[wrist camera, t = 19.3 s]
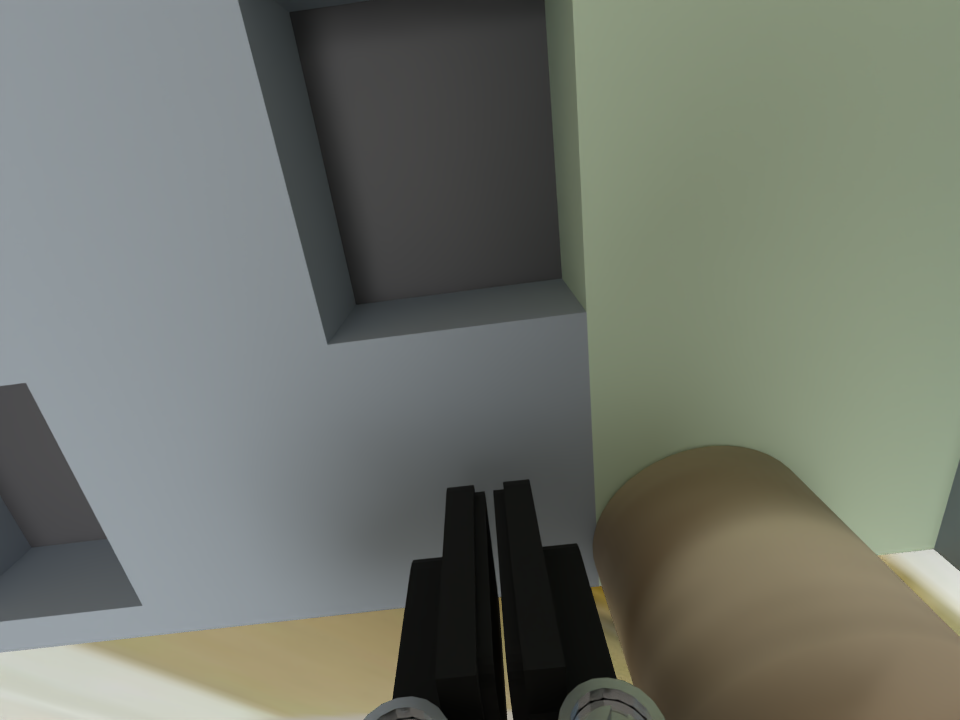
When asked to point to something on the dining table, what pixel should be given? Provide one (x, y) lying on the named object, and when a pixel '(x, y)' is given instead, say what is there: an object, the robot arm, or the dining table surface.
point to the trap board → (453, 283)
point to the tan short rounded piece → (763, 600)
